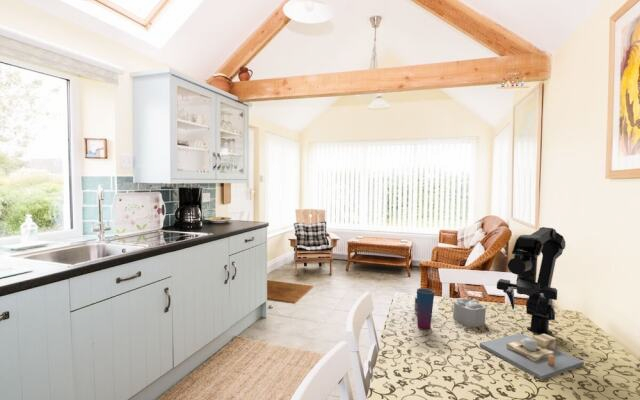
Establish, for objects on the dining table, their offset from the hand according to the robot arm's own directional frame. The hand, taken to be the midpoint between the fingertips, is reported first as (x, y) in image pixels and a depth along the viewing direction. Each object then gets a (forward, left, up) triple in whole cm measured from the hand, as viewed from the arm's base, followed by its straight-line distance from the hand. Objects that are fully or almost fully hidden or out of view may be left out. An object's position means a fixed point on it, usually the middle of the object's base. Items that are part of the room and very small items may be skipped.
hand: (524, 311), depth 123 cm
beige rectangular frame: (+4, +7, -11) cm, 13 cm away
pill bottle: (+17, -36, -12) cm, 42 cm away
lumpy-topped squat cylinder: (+3, -23, -12) cm, 26 cm away
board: (+7, +7, -12) cm, 15 cm away
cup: (+26, -24, -12) cm, 37 cm away
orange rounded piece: (+8, +15, -11) cm, 20 cm away
